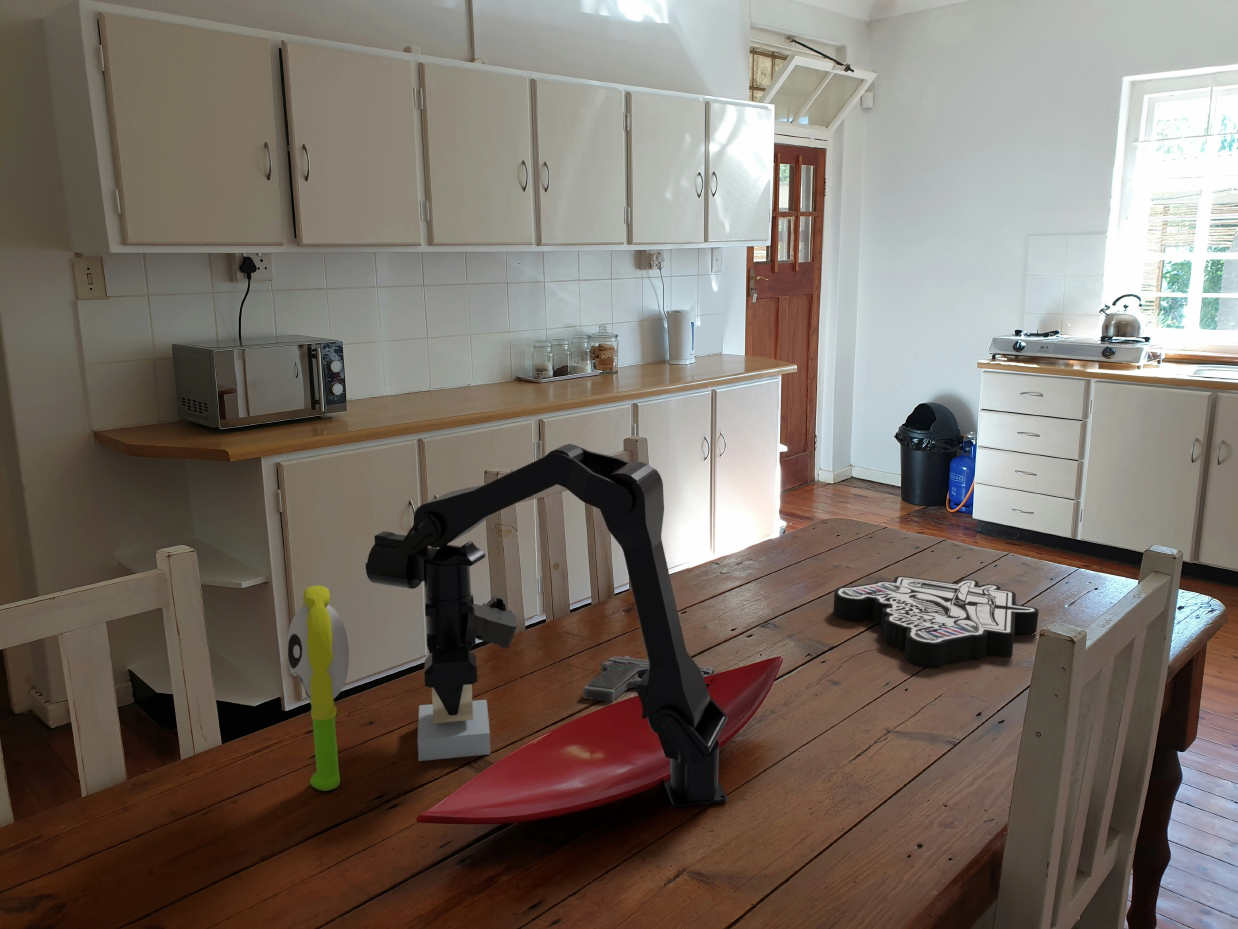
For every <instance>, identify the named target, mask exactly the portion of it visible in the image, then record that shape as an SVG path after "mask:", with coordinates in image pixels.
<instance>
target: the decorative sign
mask: <svg viewBox="0 0 1238 929" xmlns="http://www.w3.org/2000/svg"><path fill="white" fill-rule="evenodd" d="M1016 599H1017V594H1016V593H1015V592H1014V591H1011V590H1006V589H1001V587H1000V586H999V585H996V584H992V583H987V584H982V585H979V581H978V580H975V579H960V580H958V581H957V582H955V583H954V582H949V581H948V582H947V581H942V580H941V581H940V580H934V579H926V578H918V577H917V578H916V577H911V576H904V575H903V576H902V575H901V576H899V575H898V576H896V577H894V579H893V581H889V580H888V581H887V580H880V581H875V582H871V583H865V584H859V585H853V586H852V585H851V586H840V587H837V588H836V589H834V594H833V609H832V614H833V617H835V618H836V619H838V620H841V621H845V622H852V623H861V622H862V623H863V622H866V621H872V622H873V623H874V625H876V626H878V627H880V634H881V635H882V636H883V644H884V645H886V646H887V647H890V648H893V649H896V650H899V651H901V652H904V660H905V662H907V664H910V665H911V666H914V667H919V668H923V669H929V670H936V669H942V668H943V667H945V666H948V665H953V664H954V665H955V664H958V663H959V664H960V663H964V662H969V661H980V660H983V659H985V657H986V656H990V657H994V656H995V657H996V658H1001V657H1002V658H1003V657H1004V658H1003V659H1007V658H1006V657H1010V658H1011V656H1013V650H1014V642H1015V636H1014V635H1032V634H1034V633H1035V632H1036V633H1037V629H1038V620H1039V611H1040V610H1039V609H1038V608H1037V607H1033V606H1028V605H1022V604H1021V605H1019V604H1016V602H1017V601H1016ZM1032 636H1033V635H1032Z"/></svg>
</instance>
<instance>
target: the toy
mask: <svg viewBox="0 0 1238 929" xmlns="http://www.w3.org/2000/svg"><path fill="white" fill-rule="evenodd" d="M302 599H303V602H302V606H301V607H299V609H298V610H297V611H296V612H295V615H294V616H293V618H292V620H291V621H290V622H291V623H290V625H289V630H288V634H287V642H286V644H287V646H286V647H287V648H286V649H287V650H286V651H287V652H286V653H287V660H288V661H287V662H288V668H289V672H290V674H291V675H293V676H297V679H298V681H299V682H300V683H301V685H302V686H301V687H303V690H304V692H305V697H306V700H307V701H309V703H310V704H309V705H310V706H311V708H310V713H311V715H310V717H311V719H312V728H313V729H312V730H313V741H314V754H315V756H314V757H315V765H316V766H315V767H316V772H315V773H314V774H313V775H312V776H311V778H310V779H309V780H310V781H309V782H310V785H311V786H312V787H313V788H314V789H316V790H319V791H324V792H326V791H331V790H334V789H336V788H338V786H339V785H340V782H341V776H340V771H339V759H338V742H337V732H336V731H337V730H336V716H337V712H338V711H337V709H338V707H337V706H336V705H335V700H334V699H335V698H336V697H338V695H339V694H340V693H341V691H342V690H343V688H344V686H345V684H346V680H347V678H348V672H349V666H350V649H349V648H350V646H349V640H348V636H347V635H348V634H347V631H346V628H345V625H344V623H343V622H344V621H343V620H342V619H341V617H340V615H339V614H338V612H337V611H336V610H335V609H334V608H333V607H332V606H331V605H330V602H331V594H330V589H329V588H328V587H326V586H323V585H312V586H308V587H306V588H305V589H304V591H303V598H302Z"/></svg>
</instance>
